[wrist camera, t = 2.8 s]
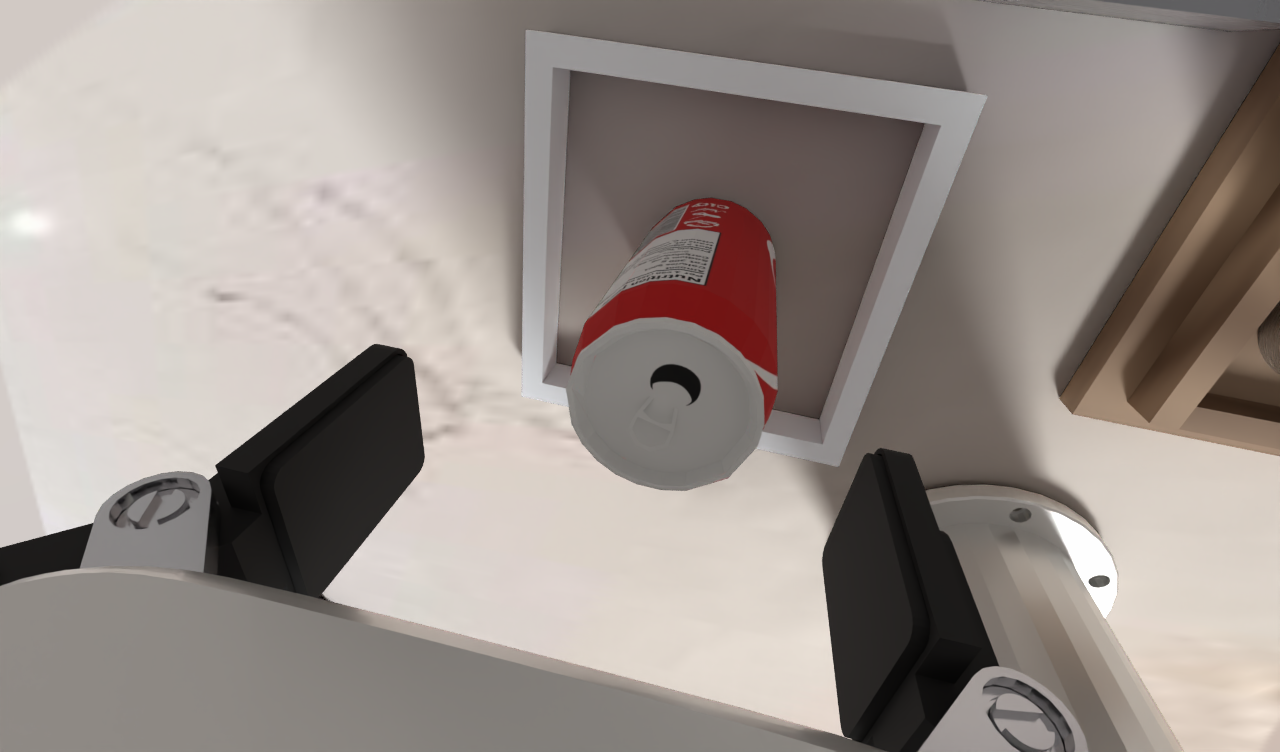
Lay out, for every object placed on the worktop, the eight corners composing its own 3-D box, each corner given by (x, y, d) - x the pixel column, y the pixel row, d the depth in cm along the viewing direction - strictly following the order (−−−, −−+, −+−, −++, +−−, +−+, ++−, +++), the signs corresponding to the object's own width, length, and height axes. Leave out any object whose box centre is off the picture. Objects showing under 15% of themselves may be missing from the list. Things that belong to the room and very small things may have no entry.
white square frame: (834, 440, 26) (838, 467, 25) (536, 376, 28) (521, 396, 26) (968, 91, 19) (987, 95, 17) (546, 31, 20) (525, 29, 19)
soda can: (737, 341, 25) (712, 537, 15) (627, 290, 25) (526, 451, 15) (801, 231, 22) (826, 380, 12) (676, 172, 22) (593, 271, 12)
